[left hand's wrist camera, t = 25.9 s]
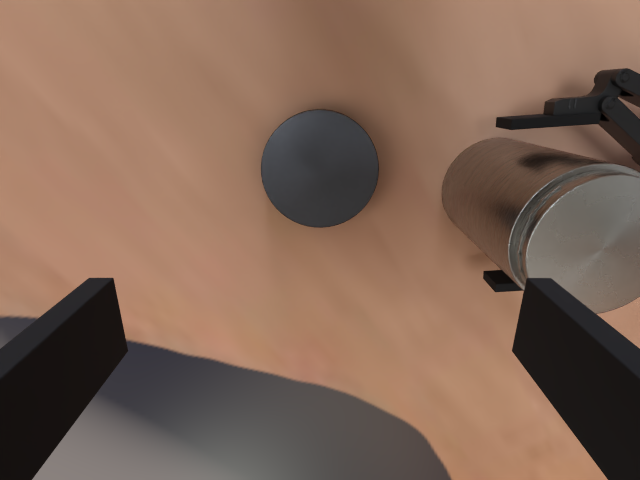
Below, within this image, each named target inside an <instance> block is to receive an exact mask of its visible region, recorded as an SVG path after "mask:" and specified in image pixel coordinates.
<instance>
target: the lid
mask: <svg viewBox="0 0 640 480" xmlns="http://www.w3.org/2000/svg"><path fill="white" fill-rule="evenodd" d="M378 172H379V166H378V158H377V153H376V150H375V147H374V145H373V143H372V141H371V139H370V137H369V136H368V134H367V133H366V132H365V131H364V129H363V128H362V127H361V126H360V125H358V124H357V123H356V122H355V121H354V120H352V119H351V118H349V117H347V116H345V115H343V114H341V113H339V112H335V111H331V110H325V109H315V110H308V111H304V112H301V113H299V114H296V115H294V116H292V117H291V118H289V119H287V120H286V121H285V122H284V123H282V124H281V125H280V126H279V127H278V128H277V129H276V130H275V131H274V133H273V134H272V135H271V137H270V138H269V140H268V142H267V144H266V146H265V149H264V152H263V156H262V162H261V176H262V182H263V185H264V189H265V191H266V193H267V195H268V197H269V199H270V201H271V202H272V203H273V205H274V206H275V207H276V208H277V209H278V210H279V211H280V212H281V213H282V214H283V215H284V216H286V217H287V218H289V219H290V220H292V221H294V222H296V223H299V224H301V225H305V226H310V227H330V226H335V225H338V224H341V223H344V222H345V221H347V220H349V219H351V218H352V217H354V216H355V215H357V214H358V213H359V212H360V211H361V210H362V209H363V208H364V207H365V206H366V204H367V203H368V202H369V200H370V199H371V197H372V195H373V193H374V190H375V187H376V184H377V180H378Z"/></svg>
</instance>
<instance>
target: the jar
mask: <svg viewBox="0 0 640 480" xmlns="http://www.w3.org/2000/svg"><path fill="white" fill-rule="evenodd" d="M442 201H443V205H444V209H445V211H446V213H447V215H448V217H449V218H450V220H451V221H452V222H453V223H454V224H455V225H456V226H457V227H458V228H459V229H460V230H461V231H462V232H463V233H464V234H465V235H466V236H467V237H468V238H469V239H470V240H471V241H472V242H474V243H475V244H476V245H477V246H478V247H479V248H480V249H481V250H482V251H483V252H484V253H485V254H486V255H487V256H488V257H489V258H490V259H491V260H492V261H493V262H494V263H495V264H496V265H497V266H498V267H499V268H500V269H501V270H502V271H504V272H505V273H506V274H507V275H508V276H509V277H510V278H511V279H512V280H513V281H514V282H515V283H516V284H517V285H518V286H519V287H520V288H521V289H522V290H523V291H524V289H525V284H526V279H527V278H551V279H553V280H554V281H555V282H556V283H558V284H559V285H560V286H561V287H563V288H564V289H565V290H566V291H568V292H569V293H570V294H572V295H573V296H574V297H575V298H577V299H578V300H579V301H580V302H582V303H583V304H584V305H585V306H587V307H588V308H589V309H590V310H592V311H593V312H594V313H595V314H598V313H604V312H607V311H611V310H614V309H617V308H619V307H622V306H624V305H626V304H628V303H630V302H632V301H633V300H635V299H637V298H638V297H640V172H638V171H636V170H634V169H632V168H629V167H626V166H623V165H619V164H614V163H610V162H606V161H602V160H597V159H593V158H589V157H585V156H580V155H576V154H572V153H568V152H564V151H559V150H555V149H551V148H547V147H542V146H538V145H534V144H530V143H525V142H521V141H517V140H513V139H508V138H491V139H486V140H483V141H480V142H478V143H476V144H474V145H472V146H470V147H469V148H467V149H466V150H464V151H463V152H462V153H461V154H460V155H459V156H458V157H457V158H456V159H455V160H454V162H453V163H452V164H451V166H450V168H449V169H448V171H447V173H446V176H445V179H444V182H443V187H442Z"/></svg>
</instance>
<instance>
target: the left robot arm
mask: <svg viewBox="0 0 640 480" xmlns="http://www.w3.org/2000/svg"><path fill="white" fill-rule="evenodd" d="M127 352H128V349H127V344H126V339H125V334H124V329H123V324H122V319H121V314H120V309H119V304H118V299H117V294H116V289H115V284H114V279H113V278H89V279H87V280H86V281H85V282H84V283H82V284H81V285H80V286H79V287H77V288H76V289H75V290H74V291H72V292H71V293H70V294H68V295H67V296H66V297H65V298H63V299H62V300H61V301H60V302H58V303H57V304H56V305H55V306H53V307H52V308H51V309H50V310H48V311H47V312H46V313H45V314H43V315H42V316H41V317H40V318H38V319H37V320H36V321H35V322H33V323H32V324H31V325H30V326H28V327H27V328H26V329H25V330H23V331H22V332H21V333H20V334H18V335H17V336H16V337H15V338H13V339H12V340H11V341H10V342H8V343H7V344H6V345H5V346H3V347H2V348H1V349H0V480H32V479H33V477H34V476H35V475H36V473H37V472H38V471H39V469H40V468H41V467H42V465H43V464H44V463H45V461H46V460H47V459H48V457H49V456H50V455H51V453H52V452H53V451H54V449H55V448H56V447H57V445H58V444H59V443H60V441H61V440H62V439H63V437H64V436H65V435H66V433H67V432H68V431H69V429H70V428H71V426H72V425H73V424H74V423H75V421H76V420H77V418H78V417H79V416H80V414H81V413H82V412H83V410H84V409H85V408H86V406H87V405H88V404H89V402H90V401H91V400H92V398H93V397H94V396H95V394H96V393H97V392H98V390H99V389H100V388H101V386H102V385H103V384H104V382H105V381H106V380H107V378H108V377H109V376H110V374H111V373H112V372H113V370H114V369H115V368H116V366H117V365H118V364H119V362H120V361H121V360H122V358H123V357H124V356H125V354H126V353H127ZM512 352H513V353H514V354H515V356H516V357H517V358H518V360H519V361H520V362H521V364H522V365H523V366H524V368H525V369H526V370H527V372H528V373H529V374H530V376H531V377H532V378H533V380H534V381H535V382H536V384H537V385H538V386H539V388H540V389H541V390H542V392H543V393H544V394H545V396H546V397H547V398H548V400H549V401H550V402H551V404H552V405H553V406H554V408H555V409H556V410H557V412H558V413H559V414H560V416H561V417H562V419H563V420H564V421H565V423H566V424H567V425H568V427H569V428H570V429H571V431H572V432H573V433H574V435H575V436H576V437H577V439H578V440H579V441H580V443H581V444H582V445H583V447H584V448H585V449H586V451H587V452H588V453H589V455H590V456H591V457H592V459H593V460H594V461H595V463H596V464H597V465H598V467H599V468H600V469H601V471H602V472H603V473H604V475H605V476H606V477H607V479H608V480H640V349H639V348H638V347H637V346H635V345H634V344H633V343H632V342H630V341H629V340H628V339H627V338H625V337H624V336H623V335H622V334H620V333H619V332H618V331H617V330H615V329H614V328H613V327H612V326H610V325H609V324H608V323H607V322H605V321H604V320H603V319H602V318H600V317H599V316H598V315H597V314H595V313H594V312H593V311H592V310H590V309H589V308H588V307H587V306H585V305H584V304H583V303H582V302H580V301H579V300H578V299H577V298H575V297H574V296H573V295H572V294H570V293H569V292H568V291H566V290H565V289H564V288H563V287H561V286H560V285H559V284H558V283H556V282H555V281H554V280H553V279H551V278H527V279H526V284H525V289H524V294H523V299H522V304H521V309H520V314H519V319H518V324H517V329H516V334H515V339H514V344H513V349H512Z"/></svg>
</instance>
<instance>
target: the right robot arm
mask: <svg viewBox="0 0 640 480" xmlns="http://www.w3.org/2000/svg"><path fill="white" fill-rule="evenodd" d="M594 83H595V86H594V88H593V90H592V91H591V92H590V93H589V94H588V95H586V96H582V97H569V98H555V99H550V100H548V101H546V102H545V106H544V114H537V115H523V116H508V117H497V118H496V127H499V128H504V129H509V130H515V129H530V128H544V127H558V126H573V125H587V124H599V125H600V126H601V127H602V128H603V129H604V130H605V131H606V132H607V133H609V134H610V135H611V136H612V137H613V138H614V139H615V140H616V141H617V142H618V143H619V144H620V145H621V146H622V147H624V148H625V149H626V150H627V151H628V152H629V153H630V154H631V155H632V156H633V157H632V159H633V160H634V161H635V162H636V163H637V164H638V165H639V166H640V119H639V118H638V117H637V116H636V115H635V114H633V113H632V112H631V111H630V110H629V109H628V108H627V107H626V106H625V105H624V104H623V103H622V102H621V101H620V100H619V99H618V97H620V98H622V99H624V100H626V101H628V102H630V103H632V104H634V105H636V106H638V107H640V74H638V73H636V72H634V71H632V70H630V69H627V68H625V69H613V70H603V71H600V72H598V73H597V74H596V75H595V78H594ZM483 279H484V280H485V281H486V282H487V283H488V284H489V286H490V287H491V288H492V289H493V290H494V291H495V292H505V291H522V289H521V288H520V287H519V286H518V285H517V284H516V283H515V282H514V281H513V280H512V279H511V278H510V277H509V276H508V275H507V274H506V273H505V272H504V271H502V270H494V271H484V275H483Z"/></svg>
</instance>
